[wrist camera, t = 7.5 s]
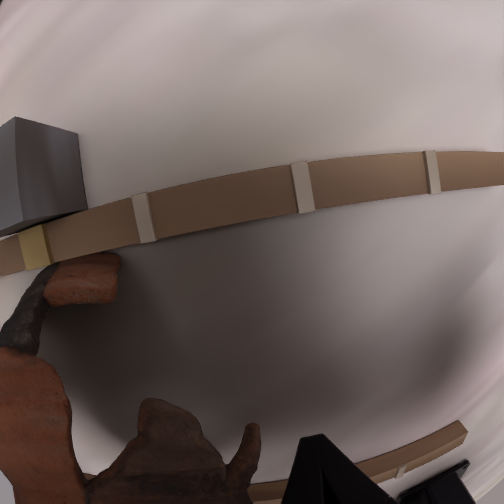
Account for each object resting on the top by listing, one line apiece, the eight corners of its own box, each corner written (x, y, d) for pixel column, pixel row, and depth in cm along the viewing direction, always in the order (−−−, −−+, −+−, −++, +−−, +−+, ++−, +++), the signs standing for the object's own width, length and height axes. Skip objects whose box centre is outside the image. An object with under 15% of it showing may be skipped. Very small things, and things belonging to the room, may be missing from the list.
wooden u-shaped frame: (443, 455, 12) (462, 485, 8) (87, 496, 12) (75, 525, 9) (473, 90, 7) (526, 74, 4) (-55, 213, 7) (-96, 222, 4)
